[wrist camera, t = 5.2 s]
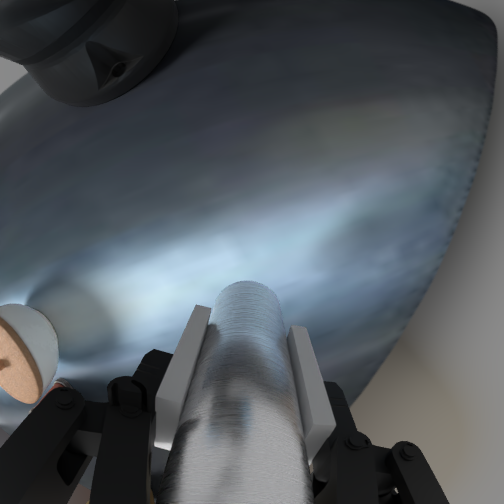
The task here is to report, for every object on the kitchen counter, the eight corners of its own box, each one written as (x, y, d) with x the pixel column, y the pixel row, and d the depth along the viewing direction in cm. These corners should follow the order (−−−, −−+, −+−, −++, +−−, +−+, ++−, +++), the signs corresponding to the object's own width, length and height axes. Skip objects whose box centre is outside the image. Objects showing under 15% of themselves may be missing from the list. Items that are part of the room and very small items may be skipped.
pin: (220, 273, 16) (128, 563, 2) (288, 288, 17) (361, 573, 2) (208, 332, 17) (144, 579, 3) (271, 345, 18) (290, 594, 3)
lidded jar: (31, 273, 25) (-26, 302, 15) (88, 349, 26) (44, 399, 17) (3, 316, 26) (-41, 345, 17) (51, 379, 28) (15, 420, 19)
